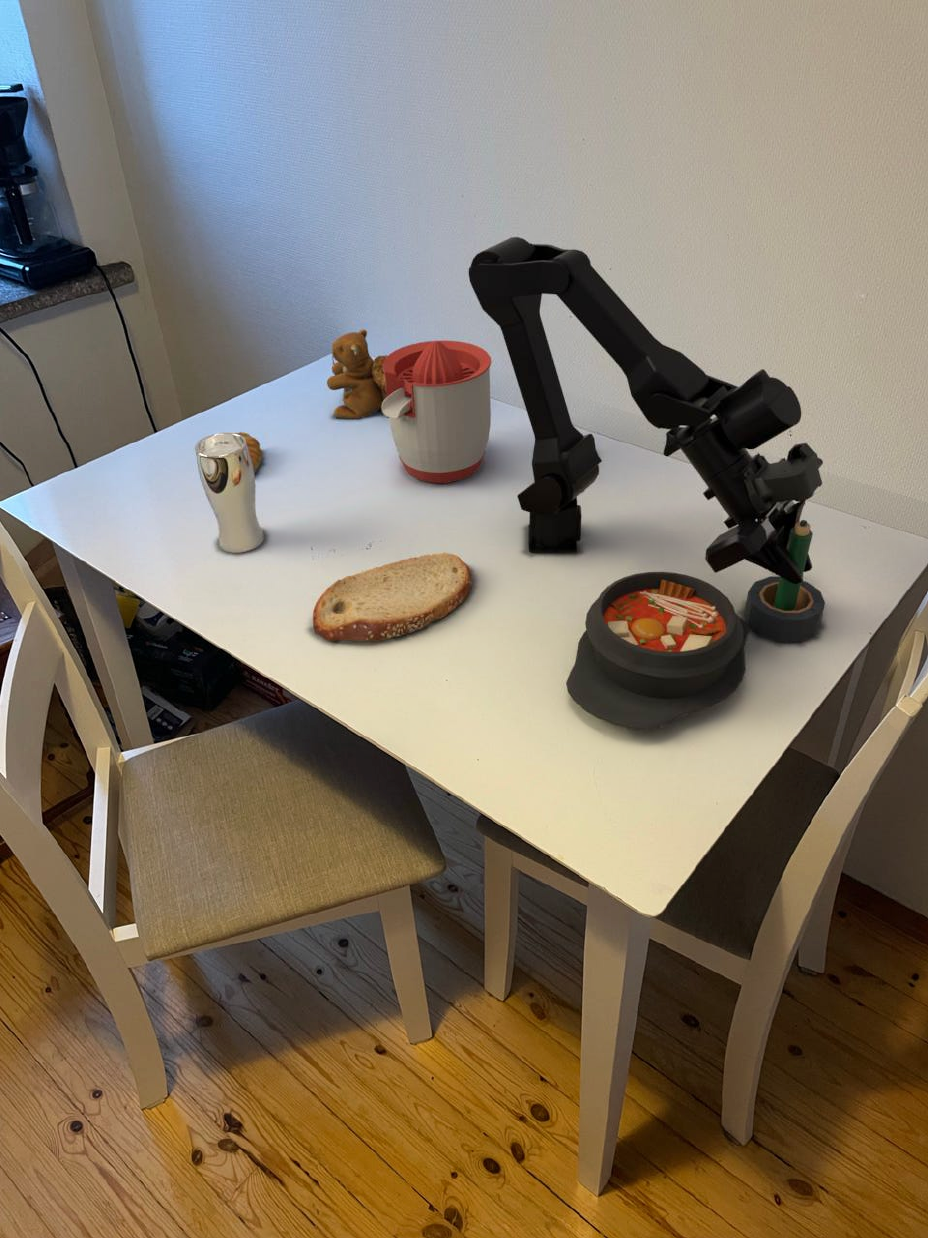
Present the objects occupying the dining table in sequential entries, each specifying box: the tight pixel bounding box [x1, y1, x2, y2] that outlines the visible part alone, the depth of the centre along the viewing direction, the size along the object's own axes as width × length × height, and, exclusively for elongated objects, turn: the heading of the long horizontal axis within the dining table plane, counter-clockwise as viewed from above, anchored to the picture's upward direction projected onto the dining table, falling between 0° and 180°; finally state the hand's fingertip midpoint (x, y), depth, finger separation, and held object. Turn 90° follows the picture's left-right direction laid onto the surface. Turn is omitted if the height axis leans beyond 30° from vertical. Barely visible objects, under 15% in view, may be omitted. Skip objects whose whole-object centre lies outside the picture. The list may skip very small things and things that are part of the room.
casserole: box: [565, 571, 750, 731], centre depth 106 cm, size 25×19×8 cm
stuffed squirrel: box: [326, 328, 388, 419], centre depth 160 cm, size 10×14×13 cm
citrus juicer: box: [381, 340, 492, 485], centre depth 140 cm, size 16×17×20 cm
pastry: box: [235, 431, 263, 474], centre depth 148 cm, size 9×7×4 cm
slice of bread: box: [312, 552, 473, 643], centre depth 119 cm, size 18×18×4 cm
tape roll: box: [744, 575, 826, 644], centre depth 113 cm, size 8×8×4 cm
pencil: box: [773, 519, 814, 611], centre depth 110 cm, size 2×2×14 cm
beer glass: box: [194, 432, 265, 554], centre depth 128 cm, size 7×7×15 cm
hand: (804, 576), depth 109 cm, fingers closed
